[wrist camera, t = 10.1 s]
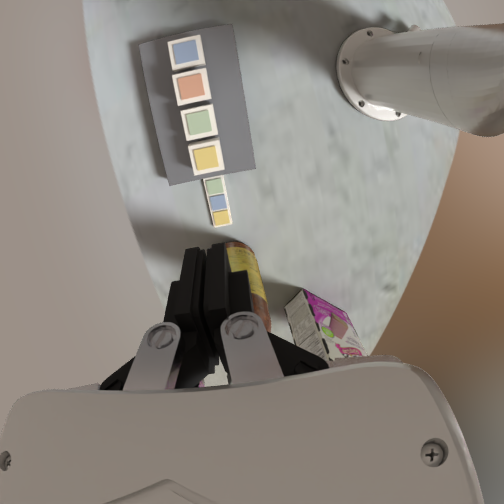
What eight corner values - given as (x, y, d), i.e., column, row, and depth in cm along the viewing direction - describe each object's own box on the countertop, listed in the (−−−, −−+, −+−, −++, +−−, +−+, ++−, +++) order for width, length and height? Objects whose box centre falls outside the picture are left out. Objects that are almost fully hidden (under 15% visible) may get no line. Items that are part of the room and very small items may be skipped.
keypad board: (142, 46, 25) (138, 44, 23) (231, 27, 25) (232, 23, 23) (171, 180, 34) (169, 186, 32) (253, 164, 34) (256, 168, 32)
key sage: (184, 109, 29) (180, 111, 26) (213, 103, 29) (212, 104, 26) (189, 135, 31) (186, 141, 27) (218, 130, 31) (218, 134, 27)
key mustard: (191, 140, 31) (187, 146, 28) (219, 135, 31) (219, 140, 28) (196, 167, 33) (194, 176, 29) (223, 161, 33) (224, 170, 29)
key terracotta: (177, 77, 26) (171, 75, 23) (207, 70, 26) (205, 67, 23) (182, 104, 28) (177, 106, 24) (211, 98, 28) (211, 98, 24)
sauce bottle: (203, 249, 39) (198, 373, 22) (246, 232, 39) (271, 352, 22) (222, 284, 43) (230, 406, 26) (263, 270, 42) (292, 389, 25)
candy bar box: (347, 311, 49) (384, 386, 35) (328, 329, 50) (358, 405, 36) (302, 285, 44) (336, 371, 30) (282, 306, 46) (306, 394, 32)
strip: (203, 178, 34) (202, 179, 34) (223, 174, 34) (223, 175, 34) (214, 226, 38) (214, 228, 37) (232, 222, 38) (232, 224, 37)
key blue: (172, 47, 25) (167, 41, 22) (201, 40, 25) (199, 34, 22) (177, 72, 26) (172, 70, 23) (206, 66, 27) (204, 63, 23)
